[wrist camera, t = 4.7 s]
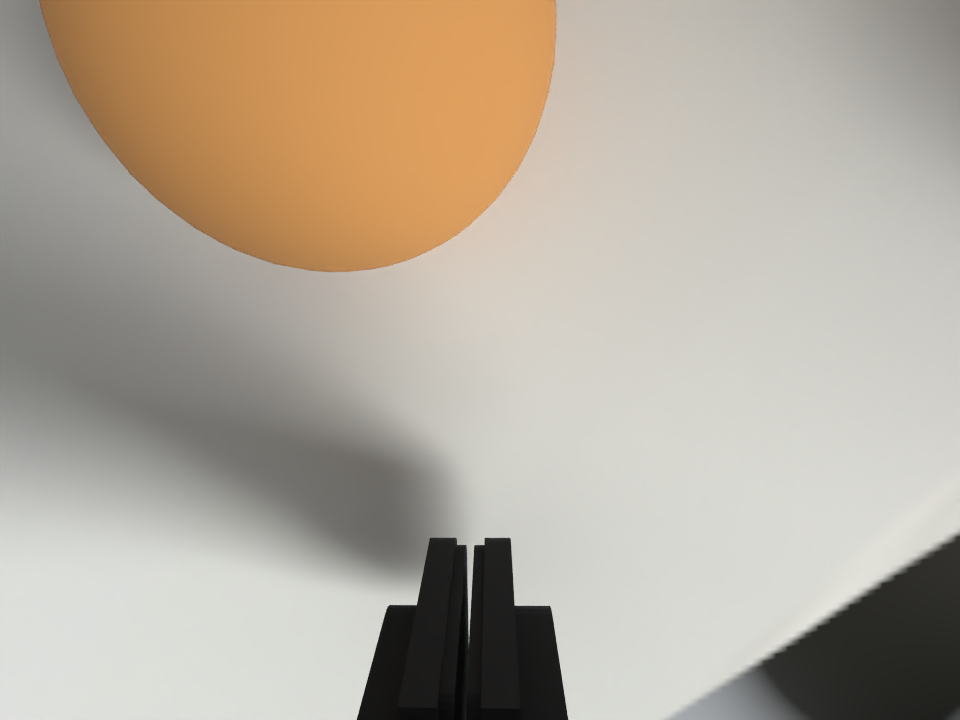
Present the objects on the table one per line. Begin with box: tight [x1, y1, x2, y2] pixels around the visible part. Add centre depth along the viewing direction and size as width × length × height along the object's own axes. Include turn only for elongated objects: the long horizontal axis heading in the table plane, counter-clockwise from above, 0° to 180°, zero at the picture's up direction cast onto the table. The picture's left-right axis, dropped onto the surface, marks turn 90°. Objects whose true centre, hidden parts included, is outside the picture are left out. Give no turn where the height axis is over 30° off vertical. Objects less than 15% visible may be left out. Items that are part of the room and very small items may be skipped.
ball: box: [40, 0, 556, 272], centre depth 7 cm, size 6×6×6 cm
